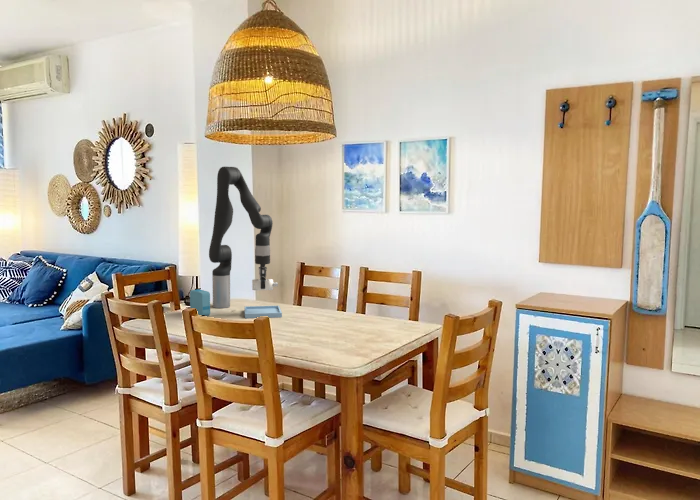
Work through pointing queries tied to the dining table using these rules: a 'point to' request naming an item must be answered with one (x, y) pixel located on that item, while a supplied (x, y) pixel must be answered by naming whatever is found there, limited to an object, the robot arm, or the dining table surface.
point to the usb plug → (268, 284)
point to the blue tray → (262, 311)
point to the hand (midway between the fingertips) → (262, 287)
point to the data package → (200, 301)
